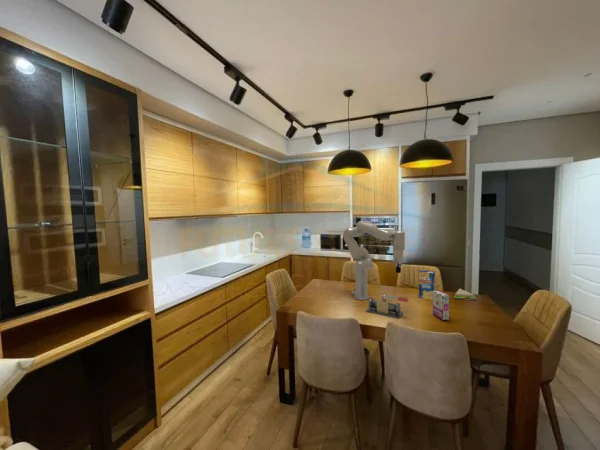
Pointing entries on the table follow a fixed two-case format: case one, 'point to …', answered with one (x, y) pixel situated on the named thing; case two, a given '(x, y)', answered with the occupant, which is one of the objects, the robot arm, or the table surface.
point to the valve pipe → (384, 308)
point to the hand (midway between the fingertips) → (398, 272)
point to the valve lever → (395, 298)
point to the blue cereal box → (426, 284)
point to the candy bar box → (441, 305)
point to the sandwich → (464, 295)
